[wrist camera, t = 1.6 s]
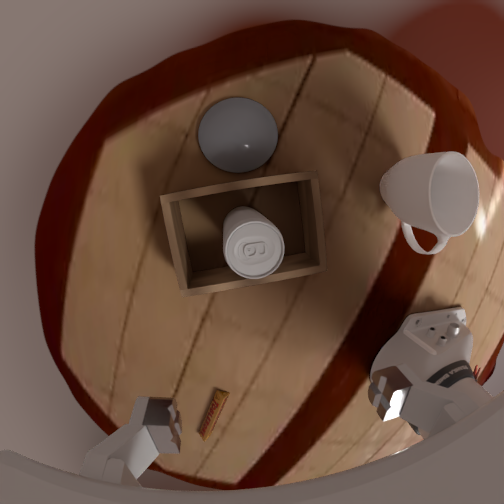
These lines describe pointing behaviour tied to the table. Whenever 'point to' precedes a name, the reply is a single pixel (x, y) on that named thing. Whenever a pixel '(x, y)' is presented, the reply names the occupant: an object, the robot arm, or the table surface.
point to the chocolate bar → (213, 414)
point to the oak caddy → (226, 276)
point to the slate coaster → (238, 135)
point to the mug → (432, 195)
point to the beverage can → (251, 243)
